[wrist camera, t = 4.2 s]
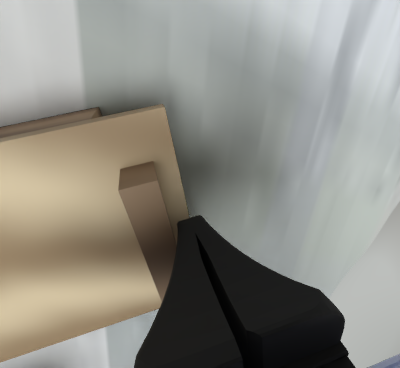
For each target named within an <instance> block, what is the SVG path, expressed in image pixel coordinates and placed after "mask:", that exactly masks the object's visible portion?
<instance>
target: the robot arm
mask: <svg viewBox="0 0 400 368" xmlns="http://www.w3.org/2000/svg"><path fill="white" fill-rule="evenodd" d="M177 229H178V237H177V247H176V254H175V259H174V264H173V269H172V273H171V277H170V280H169V283H168V287H167V289H166V292H165V295H164V298H163V301H162V303H161V306H160V308H159V311H158V313H157V315H156V317H155V320H154V322H153V324H152V326H151V329H150V331H149V333H148V334H147V336H146V338H145V340H144V342H143V344H142V346H141V348H140V350H139V352H138V353H137V356H136V360H135V365H134V368H355V366H354V365H353V364H352V362H351V361H350V359H349V358H348V357H347V356H348V354H349V353H348V351H347V350H346V348H345V347H344V345H343V344H342V343H341V341H340V340H341V336H342V333H343V329H344V323H345V319H344V316H343V315H342V313H341V312H340V311H339V310H338V308H337V307H336V306H335V305H334V304H333V303H332V302H331V301H330V300H329V299H328V298H327V297H326V296H325V295H324V294H323V293H322V292H321V291H320V290H319V289H316V288H313V287H310V286H308V285H305V284H302V283H299V282H297V281H294V280H292V279H290V278H287V277H285V276H283V275H281V274H279V273H277V272H275V271H273V270H271V269H269V268H267V267H265V266H263V265H261V264H260V263H258V262H256V261H255V260H253V259H251V258H250V257H248V256H247V255H245V254H244V253H242V252H241V251H239V250H238V249H237V248H235V247H234V246H233V245H231V244H230V243H229V242H228V241H226V240H225V239H224V238H223V237H222V236H221V235H219V234H218V233H217V232H216V231H215V230H214V229H213V228H212V227H211V226H210V225H209V224H208V223H207V222H206V221H205V219H204V218H203V217H202V216H200V215H199V216H195V217H192V218H188V219H185V220H181V221H178V223H177ZM368 368H400V354H398V355H396V356H393V357H391V358H389V359H386V360H384V361H382V362H380V363H377V364H375V365H373V366H370V367H368Z"/></svg>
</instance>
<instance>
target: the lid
mask: <svg viewBox="0 0 400 368" xmlns="http://www.w3.org/2000/svg"><path fill="white" fill-rule="evenodd" d="M188 218H190V217H189V213H188V208H187V204H186V199H185V195H184V190H183V186H182V181H181V177H180V173H179V168H178V164H177V159H176V155H175V150H174V146H173V142H172V137H171V133H170V128H169V124H168V119H167V115H166V111H165V107H164V105H163V104H159V105H154V106H150V107H145V108H140V109H136V110H131V111H126V112H122V113H117V114H112V115H107V116H103V117H98V118H93V119H89V120H84V121H79V122H75V123H70V124H65V125H60V126H56V127H51V128H46V129H42V130H37V131H32V132H28V133H23V134H18V135H13V136H9V137H4V138H0V362H3V361H6V360H9V359H12V358H15V357H18V356H21V355H24V354H27V353H30V352H32V351H35V350H38V349H41V348H44V347H47V346H50V345H53V344H56V343H59V342H62V341H65V340H68V339H71V338H74V337H77V336H80V335H83V334H86V333H88V332H91V331H94V330H97V329H100V328H103V327H106V326H109V325H112V324H115V323H118V322H121V321H124V320H127V319H130V318H133V317H136V316H139V315H141V314H144V313H147V312H150V311H153V310H156V309H159V308H160V306H161V303H162V301H163V298H164V295H165V292H166V289H167V287H168V283H169V280H170V277H171V273H172V269H173V264H174V259H175V254H176V247H177V237H178V229H177V223H178V221H181V220H185V219H188Z"/></svg>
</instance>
